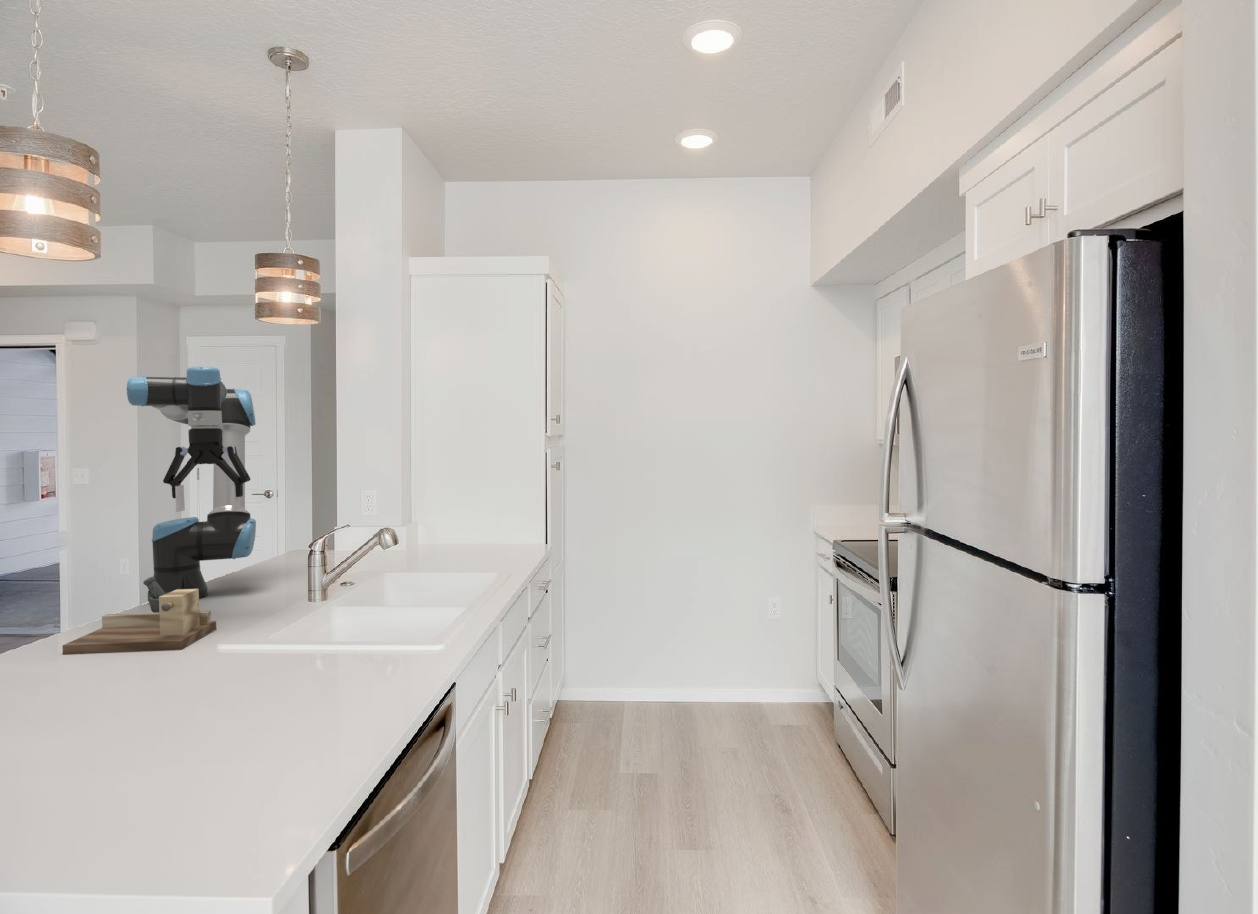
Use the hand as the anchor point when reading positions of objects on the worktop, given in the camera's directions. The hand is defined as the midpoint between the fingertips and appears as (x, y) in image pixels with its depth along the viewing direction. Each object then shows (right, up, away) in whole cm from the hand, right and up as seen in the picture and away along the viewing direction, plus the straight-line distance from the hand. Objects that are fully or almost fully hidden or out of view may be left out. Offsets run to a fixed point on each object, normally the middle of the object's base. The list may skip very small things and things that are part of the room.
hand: (208, 510), depth 189 cm
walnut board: (-6, -29, -16) cm, 34 cm away
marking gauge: (+2, -27, -15) cm, 31 cm away
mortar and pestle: (-11, -29, +1) cm, 31 cm away
